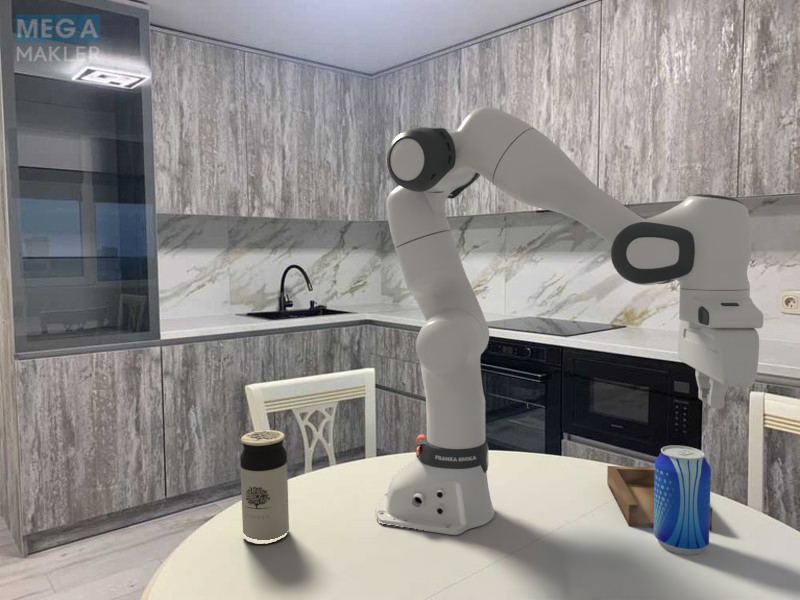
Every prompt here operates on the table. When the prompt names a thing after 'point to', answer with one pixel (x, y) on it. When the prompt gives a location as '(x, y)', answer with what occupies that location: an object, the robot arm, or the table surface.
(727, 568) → the table surface
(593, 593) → the table surface
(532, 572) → the table surface
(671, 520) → the beer can
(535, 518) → the table surface
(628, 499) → the open box
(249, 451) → the travel mug
